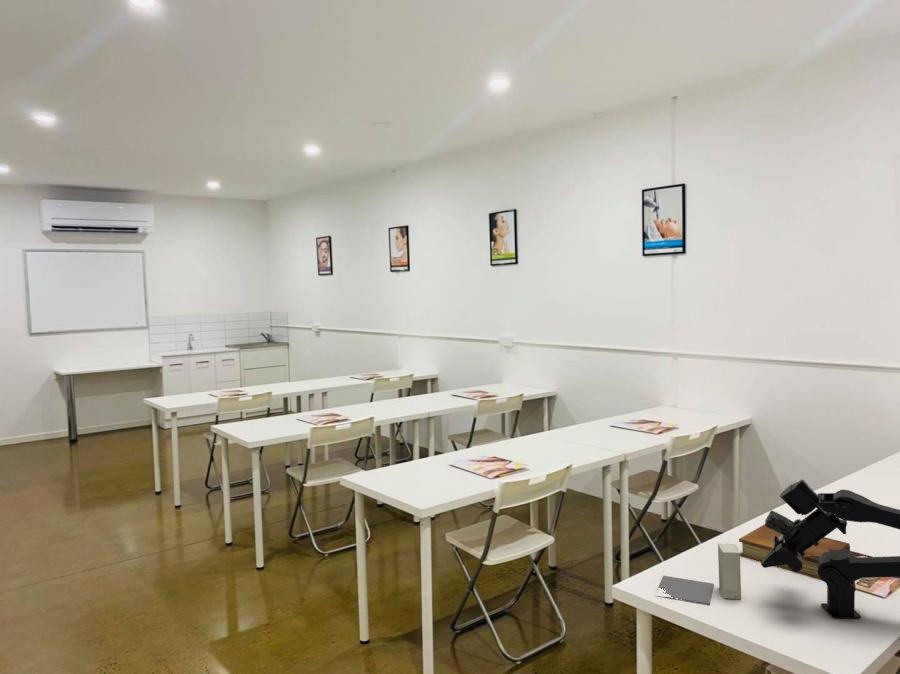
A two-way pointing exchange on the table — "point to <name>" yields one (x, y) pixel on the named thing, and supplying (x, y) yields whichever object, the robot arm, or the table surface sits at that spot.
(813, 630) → the table surface
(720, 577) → the skincare box
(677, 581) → the mat
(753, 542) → the diary
